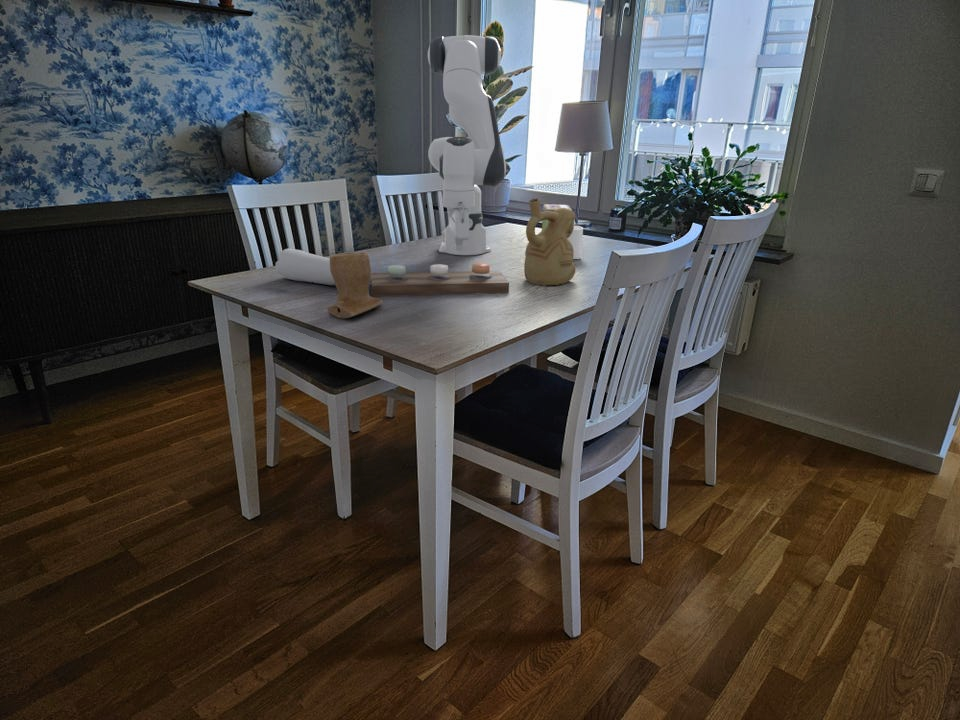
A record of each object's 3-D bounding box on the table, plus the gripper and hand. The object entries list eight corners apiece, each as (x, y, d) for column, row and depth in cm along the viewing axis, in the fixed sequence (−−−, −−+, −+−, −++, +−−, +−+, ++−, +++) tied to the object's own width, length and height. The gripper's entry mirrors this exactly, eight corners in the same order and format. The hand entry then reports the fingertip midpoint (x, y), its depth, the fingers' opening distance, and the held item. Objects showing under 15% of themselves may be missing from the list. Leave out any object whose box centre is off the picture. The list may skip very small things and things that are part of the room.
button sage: (387, 272, 178) (387, 265, 178) (405, 271, 179) (405, 264, 178) (388, 276, 174) (387, 269, 173) (406, 276, 175) (406, 269, 174)
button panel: (372, 283, 183) (372, 272, 182) (499, 280, 189) (499, 269, 188) (372, 296, 171) (371, 284, 169) (508, 292, 176) (509, 281, 175)
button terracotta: (470, 269, 182) (471, 263, 181) (487, 269, 183) (488, 262, 182) (473, 274, 177) (473, 267, 177) (490, 273, 178) (491, 266, 177)
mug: (549, 260, 215) (551, 229, 211) (560, 254, 225) (562, 224, 221) (572, 263, 212) (575, 232, 208) (583, 257, 222) (586, 226, 218)
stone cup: (351, 300, 167) (348, 244, 161) (389, 307, 162) (387, 249, 156) (314, 315, 154) (309, 255, 148) (353, 323, 149) (349, 261, 144)
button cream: (429, 271, 180) (429, 264, 179) (447, 270, 181) (447, 264, 180) (431, 275, 176) (431, 268, 175) (448, 275, 176) (449, 268, 176)
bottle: (269, 271, 181) (353, 288, 169) (279, 242, 182) (364, 257, 170) (288, 282, 189) (370, 299, 177) (298, 254, 190) (380, 270, 179)
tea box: (569, 250, 233) (572, 209, 227) (542, 249, 233) (545, 209, 227) (565, 242, 247) (568, 203, 241) (540, 241, 247) (542, 203, 241)
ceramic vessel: (588, 281, 190) (595, 197, 181) (545, 292, 178) (551, 202, 168) (546, 271, 202) (551, 191, 192) (503, 280, 189) (506, 196, 180)
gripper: (475, 205, 163) (474, 258, 168) (465, 195, 181) (465, 242, 187) (450, 205, 162) (450, 258, 167) (444, 195, 180) (444, 242, 186)
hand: (458, 250), depth 177 cm, fingers closed
